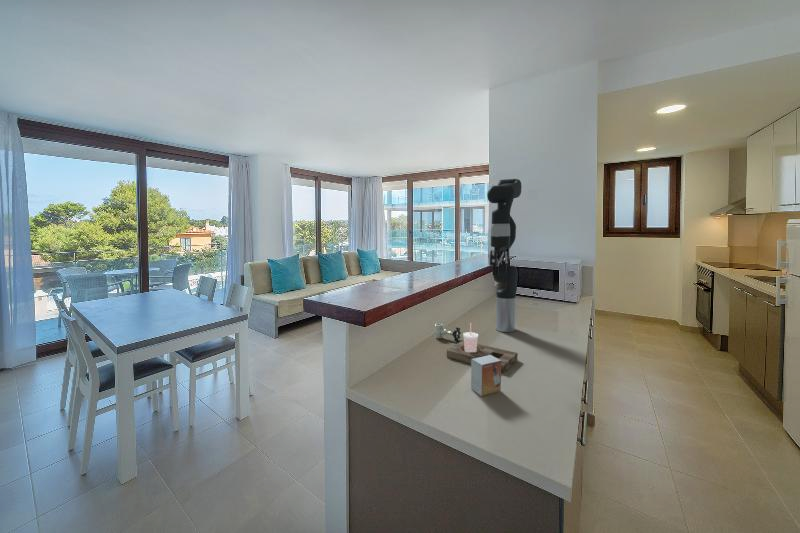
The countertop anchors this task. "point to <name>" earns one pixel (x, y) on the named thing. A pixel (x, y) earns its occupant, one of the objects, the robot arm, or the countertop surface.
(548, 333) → the countertop surface
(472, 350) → the beverage cup
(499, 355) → the socket plate
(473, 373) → the small box
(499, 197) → the robot arm
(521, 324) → the countertop surface
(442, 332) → the valve
